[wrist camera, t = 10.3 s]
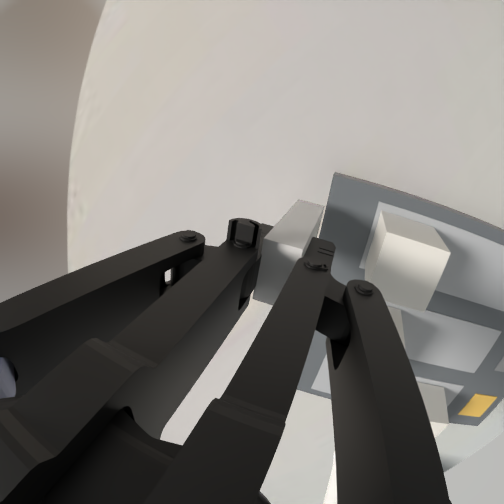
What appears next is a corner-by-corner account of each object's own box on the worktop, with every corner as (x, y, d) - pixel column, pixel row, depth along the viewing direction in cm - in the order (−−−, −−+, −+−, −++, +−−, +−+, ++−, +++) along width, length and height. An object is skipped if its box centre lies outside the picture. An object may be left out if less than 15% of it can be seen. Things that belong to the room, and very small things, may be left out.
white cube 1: (381, 210, 16) (386, 232, 13) (433, 227, 15) (450, 252, 12) (364, 263, 18) (364, 295, 14) (414, 277, 17) (424, 312, 13)
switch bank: (334, 172, 18) (333, 174, 17) (574, 264, 12) (581, 271, 11) (280, 374, 26) (276, 383, 24) (476, 417, 20) (477, 426, 19)
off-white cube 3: (409, 380, 20) (411, 418, 16) (443, 387, 19) (448, 424, 15) (391, 405, 21) (389, 442, 18) (423, 412, 20) (425, 447, 17)
